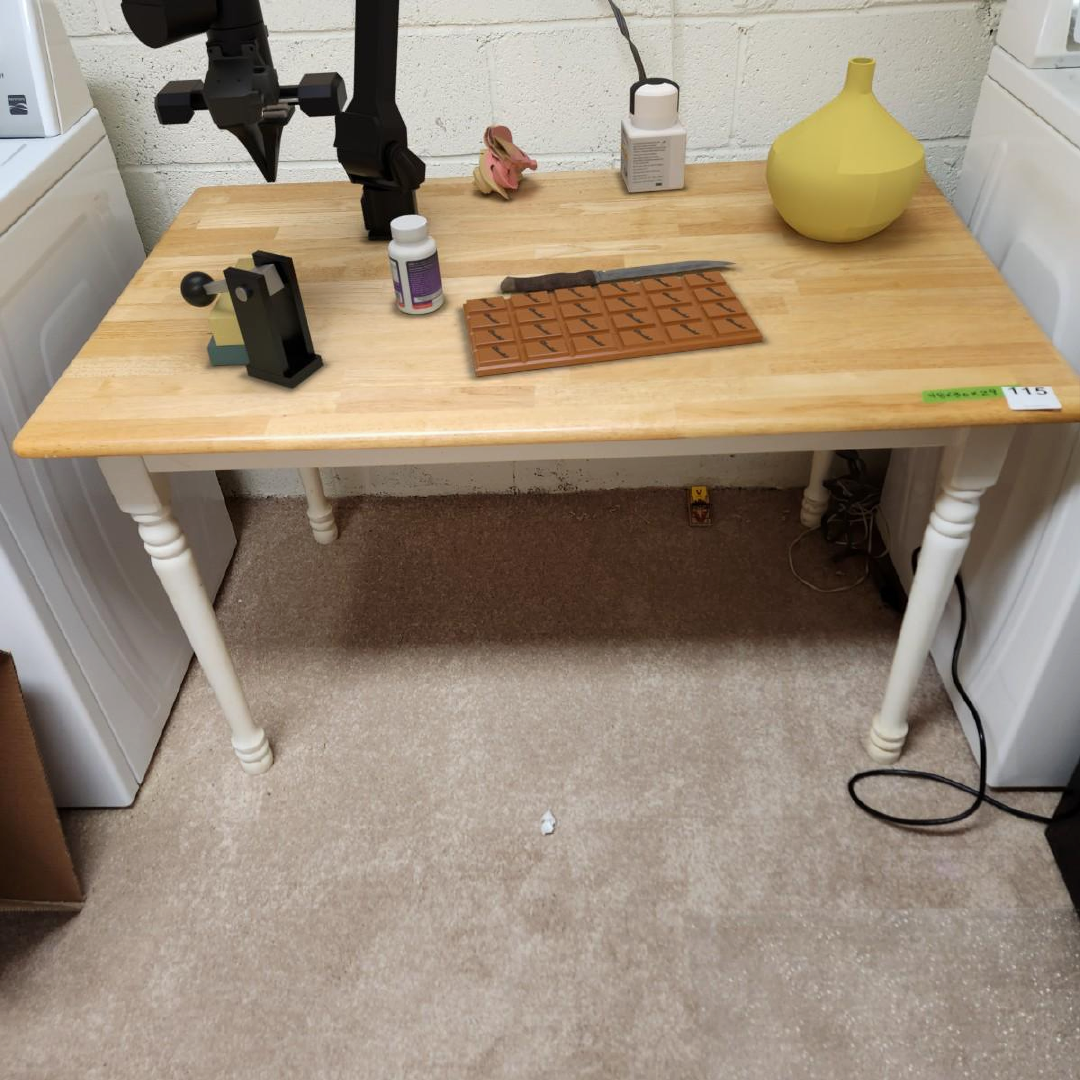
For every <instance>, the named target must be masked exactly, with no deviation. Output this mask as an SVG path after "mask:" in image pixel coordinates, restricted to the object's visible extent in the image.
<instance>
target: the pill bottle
mask: <svg viewBox="0 0 1080 1080" xmlns="http://www.w3.org/2000/svg"><path fill="white" fill-rule="evenodd" d="M420 215H421V214H419V215H405V216H401V217H398V218H396V219H394V220H393V221H392V222H391V231H392V237H393V239H391V241H390V242H389V244H388V247H387V254H388V259H389V260H388V261H389V265H390V272H391V277H392V284H393V289H394V295H395V299H396V300H395V301H396V305H397V308H398V309H399V310H400V311H402V312H403V313H405V314H410V315H424V314H429V313H432V312H434V311H437V310H438V309H440V307H441V306H442V305H443V304H444V301H445V300H444V299H445V298H444V289H443V283H442V282H443V281H442V276H441V269H440V268H441V267H440V261H439V254H438V246H437V245H438V244H437V242H436V240H435V239H434V238H433V237H432V236H430V235H429V231H430V230H429V223H428V220H427V218H426V217H425V216H423V215H421V216H420Z"/></svg>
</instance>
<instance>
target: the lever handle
mask: <svg viewBox="0 0 1080 1080" xmlns="http://www.w3.org/2000/svg"><path fill="white" fill-rule="evenodd" d="M249 271H250V272H254V273H258V274H263V275H264V276H265V279H266V283H267V287H268V291H269V295H270V296H271V295H273V294H274V293H276V292H277V291H279V290H281V289H282V288H284V285H283V283H282V281H281V278H280V276H279V274H278V272H277V270H276V268H275V266H274V264H270V265H262V266H255V267H253V268H252V269H250V270H249ZM179 290H180V295H181V297H182V298H183V300H184V301H185V302H186V303H187V304H188V305H190V306H192V307H196V308H206V307H208V306H210V305H211V304H213V303H214V302H215V300H216V298H217V294H221V293H226V292H229V290H228V287H227V284H226V280H225V279H219V280H214V279H213V277H212V276H211V275H209V274H208V273H206V272H203V271H199V270H195V271H190V272H188V273H187V274H186V275H184V276H183V278H182V279H181V281H180V285H179Z"/></svg>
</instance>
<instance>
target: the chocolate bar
mask: <svg viewBox="0 0 1080 1080" xmlns="http://www.w3.org/2000/svg"><path fill="white" fill-rule="evenodd" d="M462 309H463V315H464V321H465V325H466V331H467V337H468V340H469V345H470V350H471V356H472V360H473V366H474V370H475V374H476V377H484V376H485V377H486V376H491V375H501V374H509V373H517V372H524V371H532V370H541V369H549V368H559V367H565V366H566V367H567V366H574V365H581V364H589V363H590V364H591V363H598V362H605V361H606V362H607V361H613V360H621V359H622V360H623V359H631V358H638V357H646V356H647V357H648V356H654V355H663V354H671V353H678V352H687V351H695V350H703V349H711V348H720V347H728V346H736V345H744V344H751V343H753V344H754V343H761V342H763V334H762V333H761V331H760V329H759V328H758V327H757V325H756V324H755V322H754V321H753V320H752V318H751V317H750V314H749V313H748V312H747V310H746V309H745V308H744V306H743V305H742V303H741V302H740V300H739V298H738V297H737V296H736V294H735V293H734V291H733V290H732V288H731V286H730V285H729V284H728V282H727V281H726V279H725V278H724V277H723V274H722V273H721V272H720V271H719V270H715V271H707V272H699V273H689V274H683V277H682V278H678V276H677V275H673V276H664V277H663V276H661V277H654V278H647V279H640V282H639V283H635V281H634V280H627V281H619V282H611V283H610V282H609V283H602V284H597V286H596V288H592V286H584V287H575V288H567V289H559V290H554V291H553V293H552V292H551V293H548V291H532V292H526V293H525V292H524V293H516V294H510V297H508V298H504V296H503V295H499V296H498V295H497V296H491V297H490V296H489V297H481V298H474V299H466V302H465V303H462Z"/></svg>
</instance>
